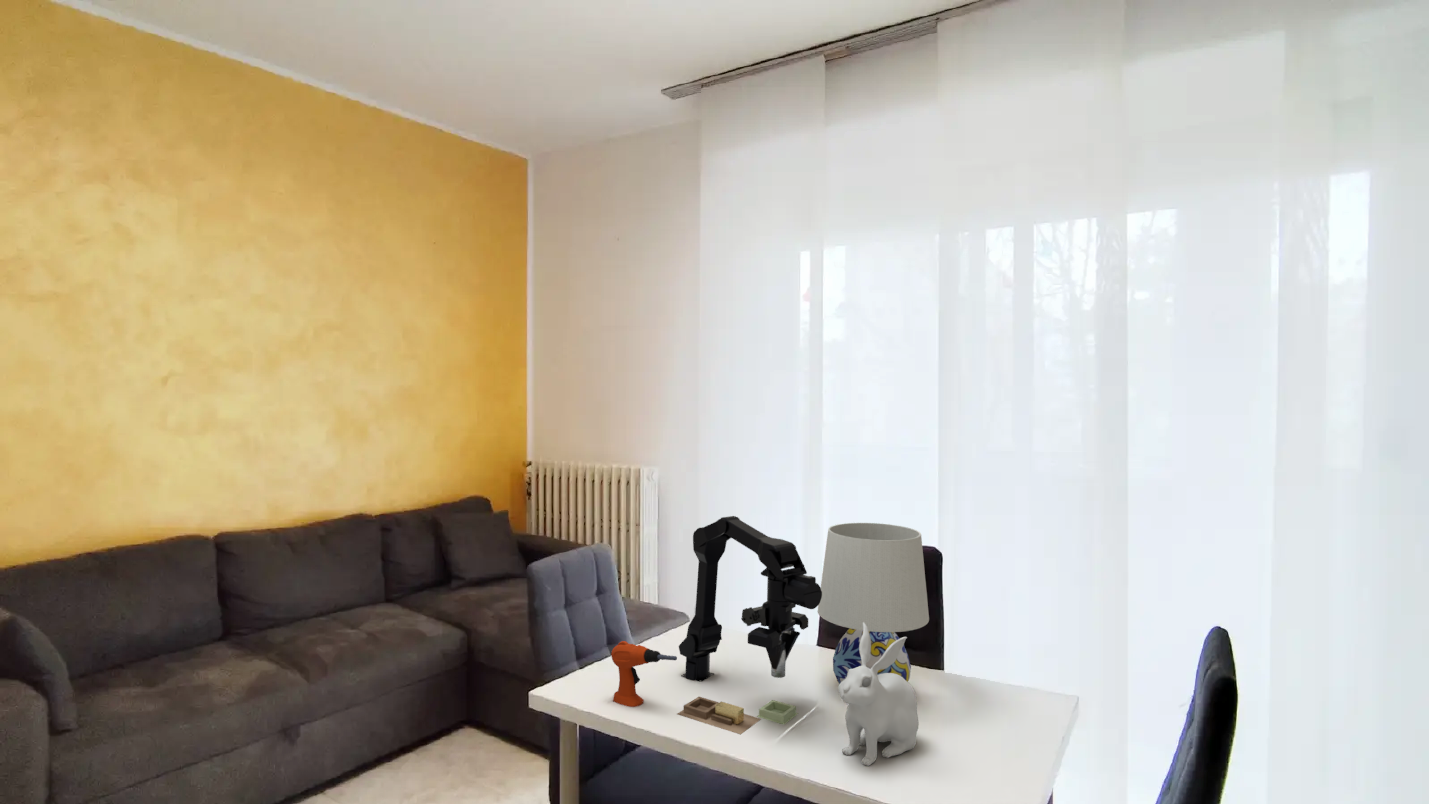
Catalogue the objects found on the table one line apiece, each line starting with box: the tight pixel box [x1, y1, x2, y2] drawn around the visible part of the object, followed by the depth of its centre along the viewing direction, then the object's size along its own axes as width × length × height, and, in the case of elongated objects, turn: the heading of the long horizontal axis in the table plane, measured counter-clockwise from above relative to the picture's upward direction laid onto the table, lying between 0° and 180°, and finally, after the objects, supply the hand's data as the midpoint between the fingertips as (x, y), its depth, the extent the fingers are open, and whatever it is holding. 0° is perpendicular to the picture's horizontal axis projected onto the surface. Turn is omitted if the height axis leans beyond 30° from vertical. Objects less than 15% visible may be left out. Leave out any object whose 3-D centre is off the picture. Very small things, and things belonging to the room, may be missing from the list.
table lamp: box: [817, 522, 930, 685], centre depth 182 cm, size 27×27×40 cm
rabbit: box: [837, 622, 920, 767], centre depth 152 cm, size 12×21×25 cm, turn 128°
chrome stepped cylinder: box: [770, 648, 787, 679], centre depth 166 cm, size 3×3×8 cm
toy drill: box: [610, 640, 678, 708], centre depth 170 cm, size 5×19×15 cm, turn 60°
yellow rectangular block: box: [715, 701, 745, 724], centre depth 164 cm, size 2×6×3 cm, turn 57°
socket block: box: [676, 696, 762, 735], centre depth 165 cm, size 9×17×2 cm, turn 57°
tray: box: [756, 699, 799, 726], centre depth 167 cm, size 7×7×2 cm
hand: (778, 666), depth 166 cm, fingers closed on chrome stepped cylinder, 3 cm apart
